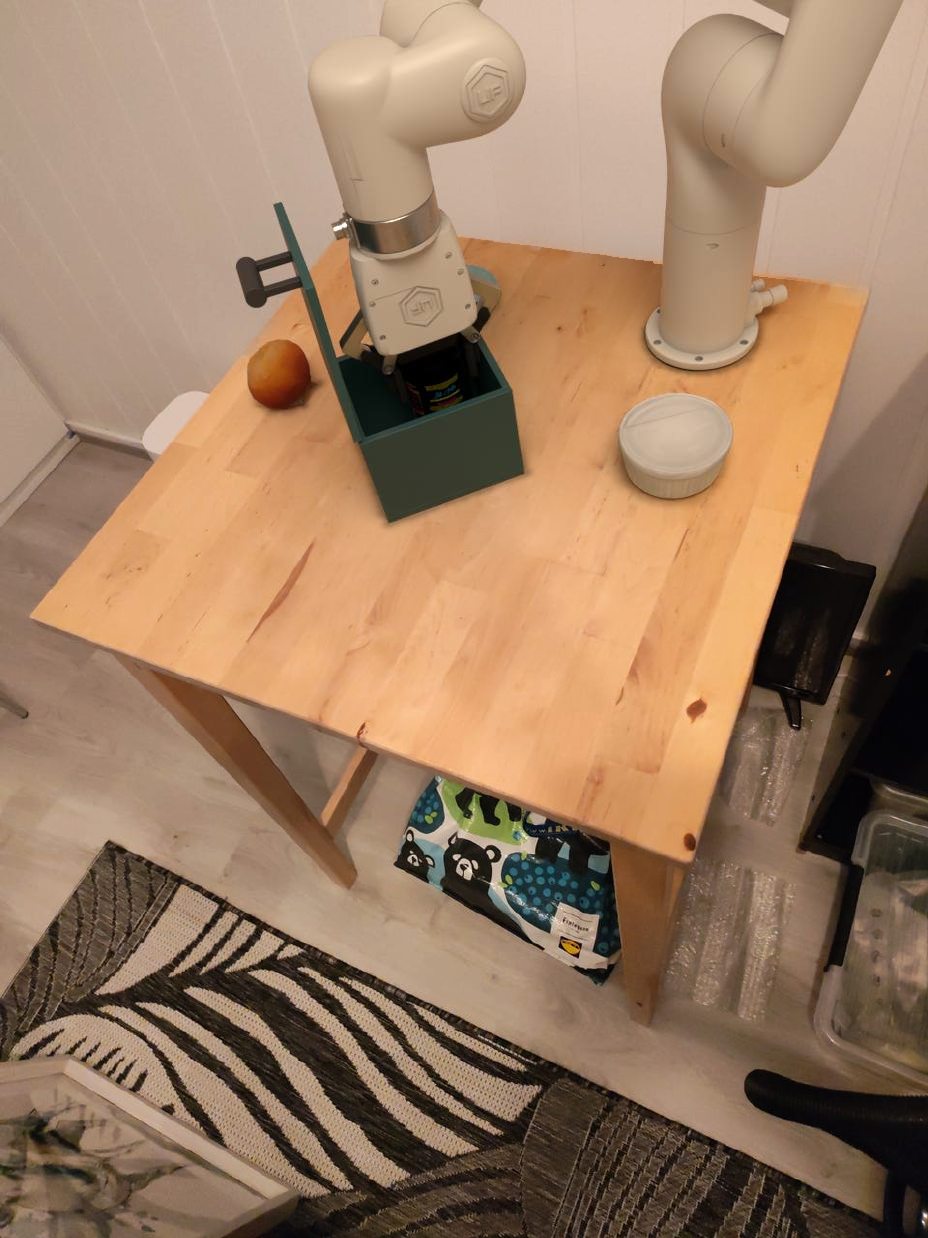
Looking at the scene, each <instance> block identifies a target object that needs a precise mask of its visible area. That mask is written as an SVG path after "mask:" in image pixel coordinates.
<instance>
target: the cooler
mask: <svg viewBox="0 0 928 1238" xmlns="http://www.w3.org/2000/svg"><path fill="white" fill-rule="evenodd" d="M479 334H480V339H479V340H478V341H477V344H478V350H479V355H480V360H481V362H478V363H476V367H477V372H478V376H477V377H474V378H473V377H471V376H470V374H469V372H468V375H469V380H470V385H471V390H472V394H473V399H470V400H467V401H465V402H462V403H459V404H456V405H454V406H451V407H448V408H445V409H442V410H440V411H437V412H434V413H431V414H429V415H426V416H423V417H420V418H418V419H415V420H414V417H413V414H412V411H411V407H410V404H409V401H408V402H407V403H404V404H403V402H402V400H401V398H400V396H399V393H395V394H392V393H391V391H390V388H389V385H388V382H387V379H386V376H385V374H384V373H383V372H382V370H380V369H377V368H374V367H372V366H369V365H366V364H364V363H363V362H362V361H361V360H359V359H358V360H357V359H355V358H353V357H350V356H348V355H346V354H343V355H342V354H341V355H340V356H336V357H337V360H338V364H339V367H340V370H341V373H342V377H343V380H344V383H345V387H346V390H347V393H348V396H349V400H350V403H351V406H352V409H353V413H354V416H355V419H356V422H357V426H358V429H359V432H360V436H361V439H362V441H359V442H357V443H358V446H359V448H360V452H361V454H362V457H363V459H364V461H365V464H366V466H367V469H368V472H369V474H370V477H371V480H372V483H373V485H374V488H375V490H376V493H377V496H378V499H379V501H380V504H381V507H382V509H383V512H384V514H385V517H386V520H387V522H388V524H390V523H393V522H396V521H398V520H402V519H405V518H407V517H410V516H413V515H415V514H418V513H421V512H424V511H426V510H429V509H433V508H434V507H437V506H439V505H442V504H445V503H448V502H450V501H453V500H456V499H459V498H462V497H464V496H467V495H470V494H472V493H475V492H477V491H480V490H483V489H486V488H489V487H491V486H494V485H497V484H499V483H503V482H505V481H508V480H510V479H514V478H516V477H519V476H522V475H524V474H525V468H524V463H523V454H522V448H521V440H520V433H519V426H518V419H517V413H516V404H515V398H514V390H513V388H512V387H511V385H510V384H509V381H508V379H507V378H506V376H505V375H504V373H503V372H502V368H501V367H500V366H499V364H498V362H497V360H496V358H495V356H494V355H493V354H492V351H491V349H490V348H489V346H488V344H487V343H486V341H485V339H484V338H483V336H482V334H481V332H480V333H479ZM370 345H371V346H373V347H375V346H374V344H373V343H372V344H370ZM467 371H468V370H467Z"/></svg>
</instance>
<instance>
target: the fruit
mask: <svg viewBox="0 0 928 1238" xmlns="http://www.w3.org/2000/svg"><path fill="white" fill-rule="evenodd" d="M246 367H247V368H246V378H247V382H246V383H247V388H248V390H249V393H250V395H251V396H252V399H254V400H255V401H256V402H258V403H260V404H261V405H263V406H264V407H266V408H269V409H273V410H276V409H277V410H286V409H289V408H293V407H294V406H297V405H302V406H304V398H305V395H306V393H307V390H308V388H309V387H311V385H317V383H316V382H313V381H312V375H311V367H310V363H309V360H308V358H307V356H306V354H305V352H304V349H302V348H301V347H300V345H299V344H298V343H295V342H293V341H291V340H289V339H274V340H269V341H267V342H265V343H264V344H263V345H261V347H260V348H259V349H258V350H257V351H256V352H255V353H254V354H253V355H251V357H250V358H249V360H248V363H247V366H246Z"/></svg>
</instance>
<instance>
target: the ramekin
mask: <svg viewBox="0 0 928 1238" xmlns="http://www.w3.org/2000/svg"><path fill="white" fill-rule="evenodd" d="M617 439H618V440H617V441H618V447H619V450H620V453H621V455H622V459H623V463H624V468H625V469H624V470H625V471H626V473H627V476H628V477H629V479H630V481H631V482H632V483H633V485H634V486H636V487H637V488H638V489H639V490H640V491H642V492H644V493H646V494H648V495H651V496H652V497H653V496H654V497H656V498H661V499H668V500H669V499H671V500H672V499H673V500H677V499H683V498H688V497H691V496H693V495H696V494H698V493H701V492H702V491H704V490H705V489H708V487H710V486H711V485H712V483H713V482H714V481H715V480H716V479H717V478H718V476H719V474H720V472H721V469H722V467H723V464H724V462H725V459H726V458H727V456H728V454H729V453H730V450H731V448H732V445H733V441H734V427H733V422H732V420H731V419H730V416H729V415H728V414H727V412H726V411H725V410H724V408H723V407H721V406H720V405H719V404H718V403H716V402H714V401H713V400H711V399H709V398H706V397H704V396H700V395H698V394H692V393H687V392H667V393H662V394H657V395H653V396H651V397H648V398H646V399H643V400H641V401H639V402H638V403H636V404H635V405H633V406H632V407H631V408H630V409H629V410H627V412H626V413H625V415H624V416H623V417H622V418H621V421H620V424H619V427H618V434H617Z"/></svg>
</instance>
